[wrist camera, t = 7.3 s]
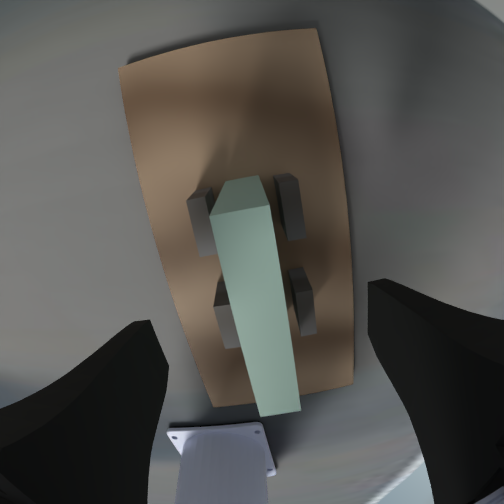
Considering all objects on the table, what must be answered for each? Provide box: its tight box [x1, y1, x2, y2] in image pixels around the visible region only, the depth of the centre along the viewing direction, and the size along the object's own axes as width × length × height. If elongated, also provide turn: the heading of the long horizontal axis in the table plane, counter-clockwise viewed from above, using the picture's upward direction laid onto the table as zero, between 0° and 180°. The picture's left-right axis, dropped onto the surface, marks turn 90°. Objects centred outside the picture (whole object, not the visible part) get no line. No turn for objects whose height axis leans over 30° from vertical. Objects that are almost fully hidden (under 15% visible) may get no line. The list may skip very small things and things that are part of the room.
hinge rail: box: [118, 28, 354, 407], centre depth 15 cm, size 22×10×3 cm, turn 10°
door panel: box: [209, 175, 301, 417], centre depth 13 cm, size 8×2×7 cm, turn 10°
